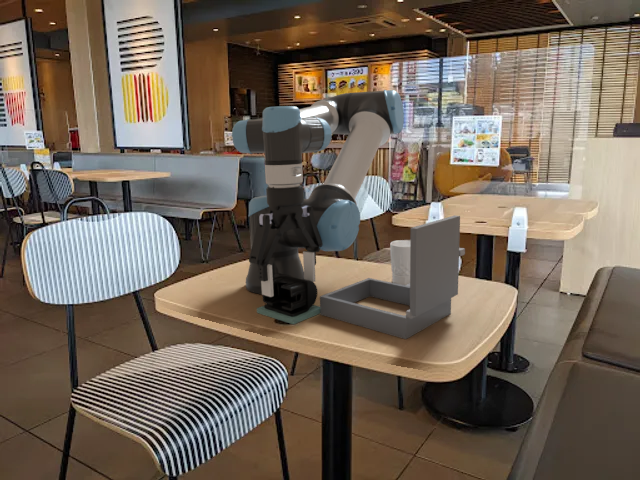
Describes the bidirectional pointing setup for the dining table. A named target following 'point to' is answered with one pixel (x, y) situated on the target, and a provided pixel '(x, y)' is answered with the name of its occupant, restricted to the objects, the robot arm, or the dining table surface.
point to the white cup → (400, 261)
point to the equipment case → (421, 294)
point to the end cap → (291, 295)
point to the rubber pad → (292, 320)
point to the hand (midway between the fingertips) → (289, 287)
